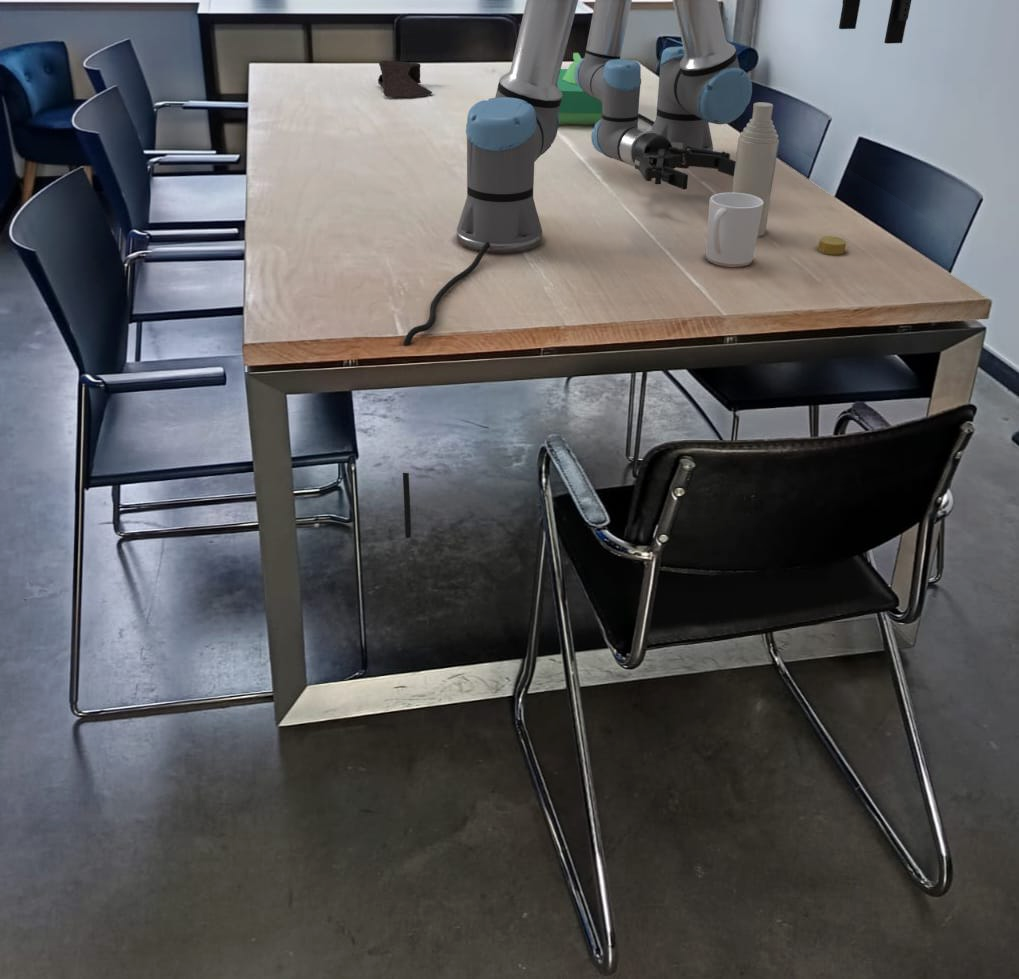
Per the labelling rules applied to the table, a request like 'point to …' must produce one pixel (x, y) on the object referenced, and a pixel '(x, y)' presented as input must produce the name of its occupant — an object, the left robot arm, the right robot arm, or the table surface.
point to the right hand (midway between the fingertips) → (714, 176)
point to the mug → (733, 228)
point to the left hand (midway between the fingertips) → (869, 35)
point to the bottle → (757, 159)
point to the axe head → (401, 79)
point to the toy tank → (576, 99)
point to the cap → (832, 245)
